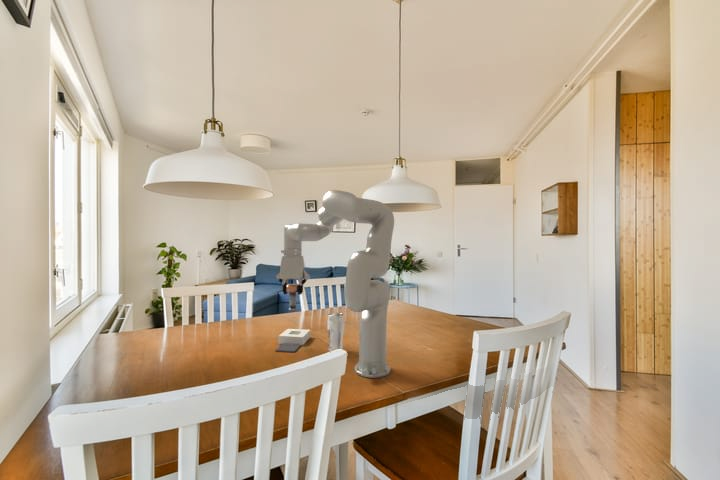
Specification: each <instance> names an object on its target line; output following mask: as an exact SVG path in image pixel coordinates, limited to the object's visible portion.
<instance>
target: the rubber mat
mask: <svg viewBox="0 0 720 480" xmlns="http://www.w3.org/2000/svg"><path fill="white" fill-rule="evenodd" d="M301 346H302V345H300V344H280V345H279V346H278V347H277V348H276V349H275V352H277V353H279V352H280V353H291V354H292V353H296V352H297V351H298V349H299V348H301Z"/></svg>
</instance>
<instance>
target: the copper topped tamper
mask: <svg viewBox="0 0 720 480" xmlns="http://www.w3.org/2000/svg"><path fill="white" fill-rule="evenodd" d="M298 286H299V283H287V285H286V292H288V293H287V294H289V307H288V311H289V312H293V311H298V307H297V293H298Z"/></svg>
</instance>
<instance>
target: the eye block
mask: <svg viewBox="0 0 720 480" xmlns="http://www.w3.org/2000/svg"><path fill="white" fill-rule="evenodd" d="M310 338H311V329H302V328H299V329H298V328H297V329H296V328H287V329H285V330H284V331H283V332H282V333H280V334H279V335H278V341H277V343H278V345H282V344H300V345H301V346H304V345H305V343H307V341H308V340H310Z"/></svg>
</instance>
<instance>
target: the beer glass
mask: <svg viewBox="0 0 720 480" xmlns="http://www.w3.org/2000/svg"><path fill="white" fill-rule="evenodd" d="M326 325H327V334H328V340H329V341H328V342H329V344H328V348H327V349H328V350H327V351H328V352H329V351H332V350H335V349H343V350H344V347H343V337H344V332H345V314H344V313H343V312H330V313H327V323H326Z"/></svg>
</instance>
